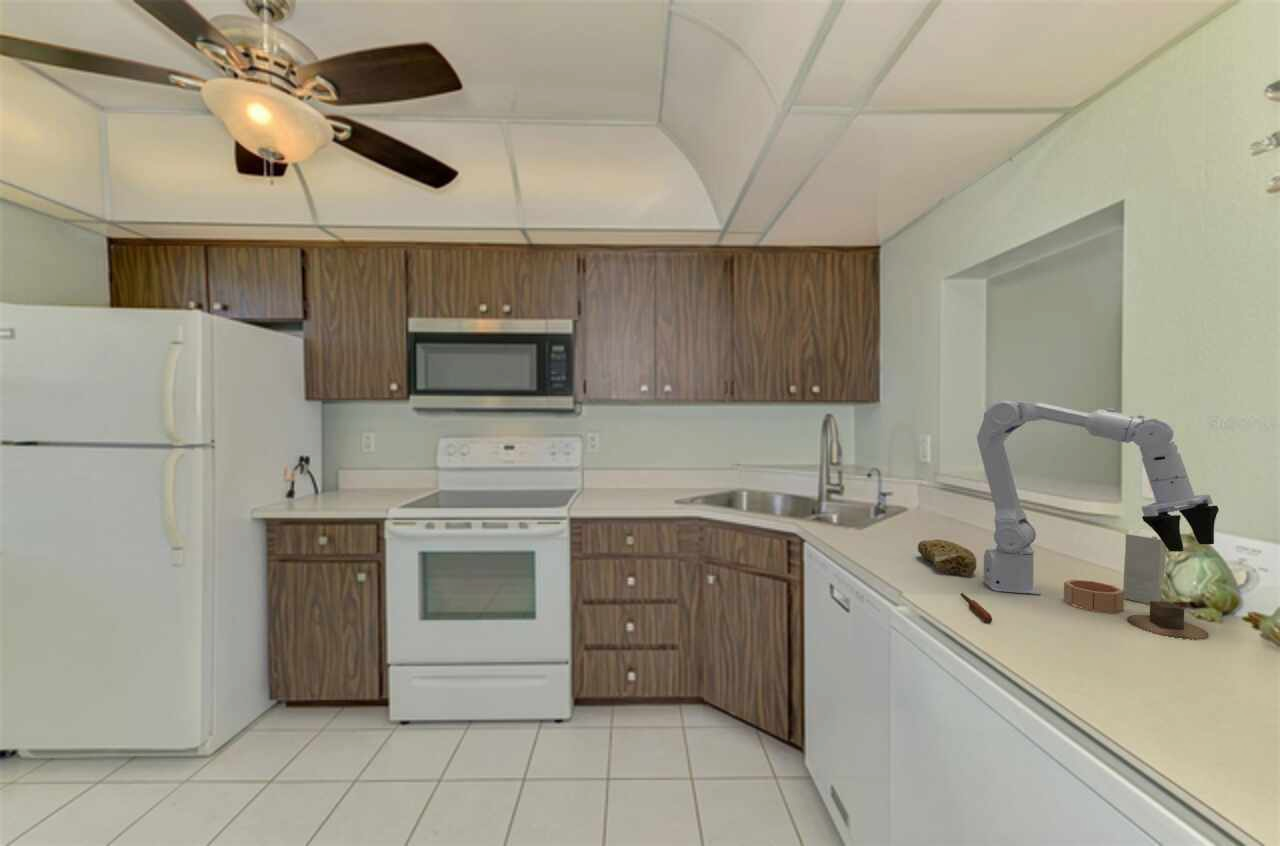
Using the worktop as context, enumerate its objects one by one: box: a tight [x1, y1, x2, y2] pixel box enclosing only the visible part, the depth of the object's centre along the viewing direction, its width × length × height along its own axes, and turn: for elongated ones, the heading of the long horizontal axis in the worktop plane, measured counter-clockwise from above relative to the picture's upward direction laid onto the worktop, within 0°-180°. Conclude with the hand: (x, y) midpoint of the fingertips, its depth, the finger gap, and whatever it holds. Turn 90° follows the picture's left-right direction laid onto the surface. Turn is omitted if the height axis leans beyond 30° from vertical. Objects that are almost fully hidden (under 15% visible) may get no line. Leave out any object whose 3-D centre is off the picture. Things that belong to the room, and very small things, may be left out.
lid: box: [1126, 601, 1210, 641], centre depth 104 cm, size 11×11×5 cm
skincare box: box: [1122, 528, 1167, 605], centre depth 121 cm, size 8×6×15 cm
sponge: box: [917, 539, 977, 577], centre depth 147 cm, size 13×8×20 cm
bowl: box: [1063, 579, 1125, 614], centre depth 117 cm, size 9×9×4 cm
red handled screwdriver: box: [960, 592, 993, 624], centre depth 114 cm, size 16×1×2 cm, turn 167°
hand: (1191, 547), depth 106 cm, fingers open, 7 cm apart
